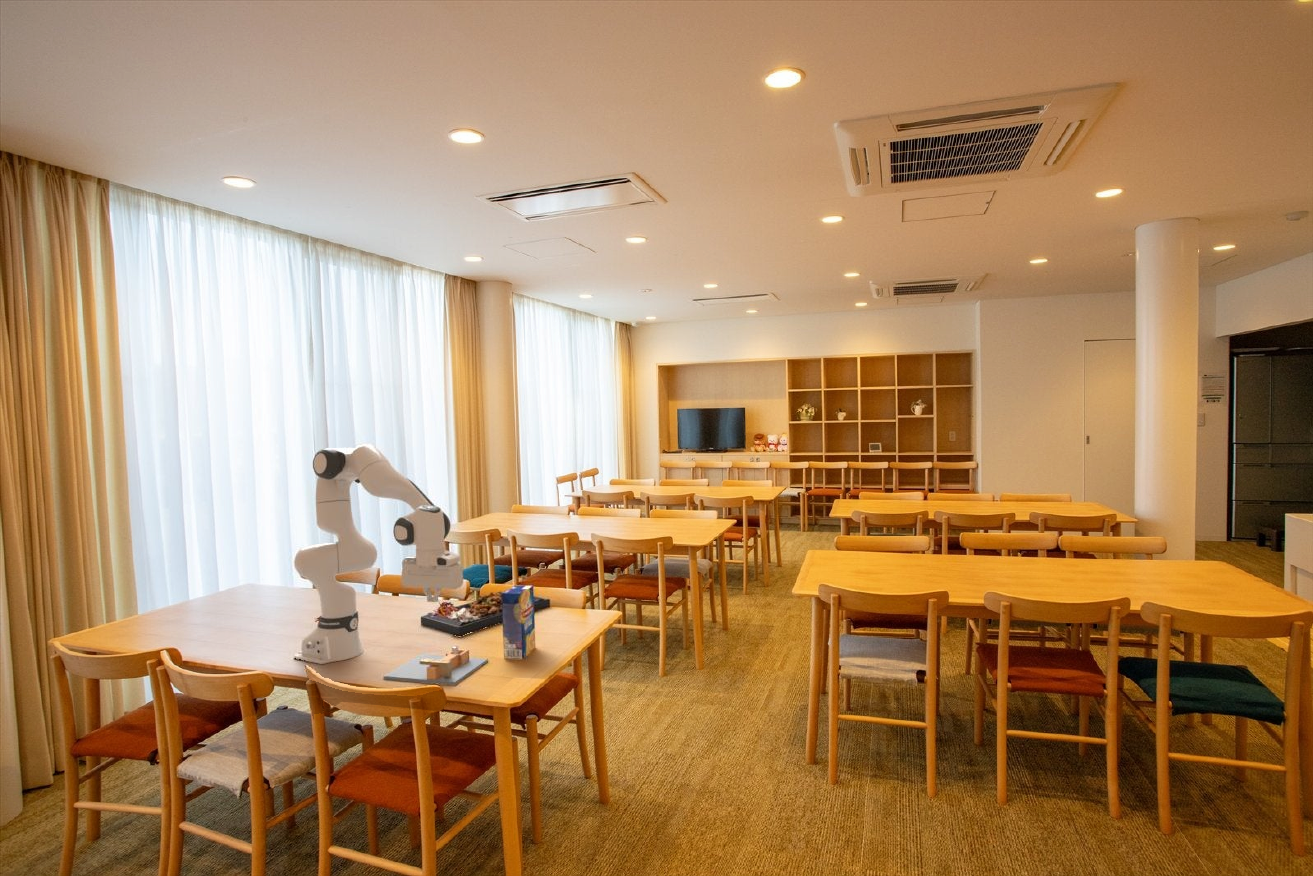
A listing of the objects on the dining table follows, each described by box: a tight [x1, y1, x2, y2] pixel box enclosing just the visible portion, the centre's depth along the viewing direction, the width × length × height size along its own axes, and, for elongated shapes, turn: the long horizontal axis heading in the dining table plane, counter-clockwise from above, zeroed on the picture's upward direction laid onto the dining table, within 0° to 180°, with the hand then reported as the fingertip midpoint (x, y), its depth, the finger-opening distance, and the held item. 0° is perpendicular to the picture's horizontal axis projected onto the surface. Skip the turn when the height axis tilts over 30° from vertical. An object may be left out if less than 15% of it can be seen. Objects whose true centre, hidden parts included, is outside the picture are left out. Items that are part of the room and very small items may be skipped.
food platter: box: [420, 590, 551, 637], centre depth 276 cm, size 45×25×10 cm, turn 142°
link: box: [427, 648, 470, 680], centre depth 217 cm, size 17×5×3 cm, turn 163°
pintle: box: [451, 645, 459, 654], centre depth 222 cm, size 2×2×5 cm
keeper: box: [420, 659, 452, 679], centre depth 211 cm, size 10×2×5 cm, turn 75°
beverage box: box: [502, 584, 536, 659], centre depth 231 cm, size 7×11×22 cm, turn 169°
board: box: [382, 653, 489, 686], centre depth 219 cm, size 25×20×1 cm
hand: (432, 601), depth 214 cm, fingers closed
